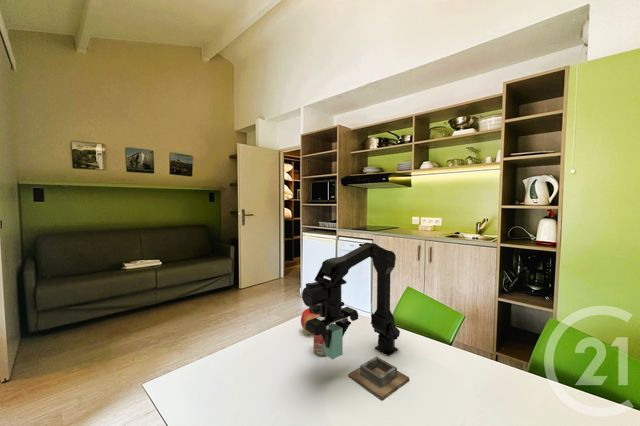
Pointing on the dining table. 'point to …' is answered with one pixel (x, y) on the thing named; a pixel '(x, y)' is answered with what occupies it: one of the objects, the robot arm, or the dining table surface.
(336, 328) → the rail post
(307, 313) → the apple
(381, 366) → the square socket base
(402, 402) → the dining table surface
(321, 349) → the soda can
